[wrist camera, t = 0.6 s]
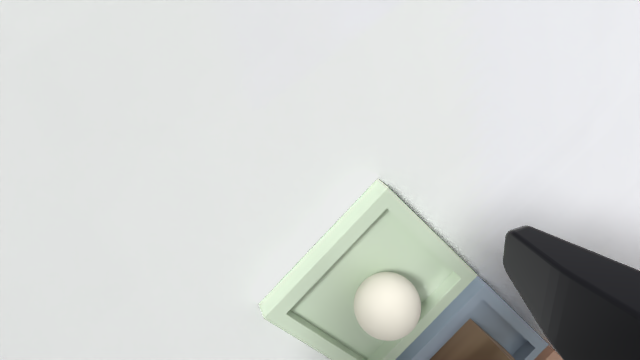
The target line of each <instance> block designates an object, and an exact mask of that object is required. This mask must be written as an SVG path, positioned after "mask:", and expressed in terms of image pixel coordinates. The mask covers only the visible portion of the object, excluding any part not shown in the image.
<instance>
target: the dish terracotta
mask: <svg viewBox="0 0 640 360" xmlns="http://www.w3.org/2000/svg"><path fill="white" fill-rule="evenodd" d="M534 360H563V359H562V357H561V356H560V355H559V354H558V353H557V352H556V351H555V350H554V349H553V348H551V347H550V346H549V345H548V346H547V347H546V348H545V349H544V350H543V351H542V352H541V353H540V354H539V355H538V356H537V357H536V358H535V359H534Z"/></svg>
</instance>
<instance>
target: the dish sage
mask: <svg viewBox="0 0 640 360" xmlns="http://www.w3.org/2000/svg"><path fill="white" fill-rule="evenodd" d="M379 272H393V273H397V274H399V275H402V276H403V277H405V278H406V279H408V280H409V281H410V282H411V283H412V284H413V285H414V287H415V288H416V290H417V292H418V294H419V297H420V301H421V314H420V318H419V321H418V323H417V325H416V327H415V328H414V329H413V330H412V331H411V332H410V333H409V334H408V335H406V336H405V337H403V338H401V339H398V340H394V341H384V340H379V339H376V338H374V337H372V336H370V335H369V334H368V333H366V332H365V331H364V330H363V329H362V327H361V326H360V325H359V323H358V321H357V319H356V316H355V313H354V298H355V294H356V291H357V289H358V287H359V286H360V285H361V283H362V282H363V281H364V280H365V279H367V278H368V277H369V276H371V275H373V274H376V273H379ZM477 276H478V275H477V274H476V273H475V272H474V271H473V270H472V269H471V268H470V267H469V266H468V265H467V264H466V263H465V262H464V261H463V260H462V259H461V258H460V257H459V256H458V255H457V254H456V253H455V252H454V251H453V250H452V249H451V248H450V247H449V246H448V245H447V244H446V243H445V242H444V241H443V240H442V239H440V238H439V237H438V236H437V235H436V234H435V233H434V232H433V231H432V230H431V229H430V228H429V227H428V226H427V225H426V224H425V223H424V222H423V221H422V220H421V219H420V218H419V217H418V216H417V215H416V214H415V213H414V212H413V211H412V210H411V209H410V208H409V207H408V206H407V205H406V204H405V203H404V202H403V201H402V200H401V199H400V198H399V197H398V196H397V195H396V194H395V193H394V192H393V191H392V190H390V189H389V188H388V187H387V186H386V185H385V184H384V183H383V182H381V181H380V180H379V179H377V180H376V181H375V182H374V183H373V184H372V185H371V186H370V187H369V188H368V189H367V190H366V192H365V193H364V194H363V195H362V196H361V197H360V198H359V199H358V200H357V201H356V202H355V203H354V204H353V205H352V206H351V207H350V208H349V209H348V210H347V212H346V213H345V214H344V215H343V216H342V217H341V218H340V219H339V220H338V221H337V222H336V223H335V224H334V225H333V226H332V227H331V228H330V229H329V231H328V232H327V233H326V234H325V235H324V236H323V237H322V238H321V239H320V240H319V241H318V242H317V243H316V244H315V245H314V246H313V247H312V248H311V249H310V251H309V252H308V253H307V254H306V255H305V256H304V257H303V258H302V259H301V260H300V261H299V262H298V263H297V264H296V265H295V266H294V267H293V268H292V270H291V271H290V272H289V273H288V274H287V275H286V276H285V277H284V278H283V279H282V280H281V281H280V282H279V283H278V284H277V285H276V286H275V287H274V289H273V290H272V291H271V292H270V293H269V294H268V295H267V296H266V297H265V298H264V299H263V300H262V301H261V302H260V303H259V306H260V309H261V312H262V315H263V317H264V319H266V320H267V321H269V322H270V323H272V324H274V325H275V326H277V327H279V328H280V329H282V330H284V331H285V332H287V333H289V334H290V335H292V336H293V337H295V338H297V339H298V340H300V341H302V342H303V343H305V344H307V345H308V346H310V347H311V348H313V349H315V350H316V351H318V352H320V353H321V354H323V355H325V356H326V357H328V358H329V359H331V360H396V358H397V357H398V356H399V355H400V354H401V353H402V352H403V351H404V350H405V349H406V348H407V347H408V346H409V345H410V344H411V343H412V342H413V341H414V340H415V339H416V338H417V337H418V336H419V335H420V334H421V333H422V332H423V331H424V330H425V329H426V328H427V327H428V326H429V325H430V324H431V323H432V322H433V321H434V320H435V319H436V318H437V317H438V316H439V314H440V313H441V312H442V311H443V310H444V309H445V308H446V307H447V306H448V305H449V304H450V303H451V302H452V301H453V300H454V299H455V298H456V297H457V296H458V295H459V294H460V293H461V292H462V291H463V290H464V289H465V288H466V287H467V286H468V285H469V284H470V283H471V282H472V281H473V280H474V279H475V278H476V277H477Z"/></svg>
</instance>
